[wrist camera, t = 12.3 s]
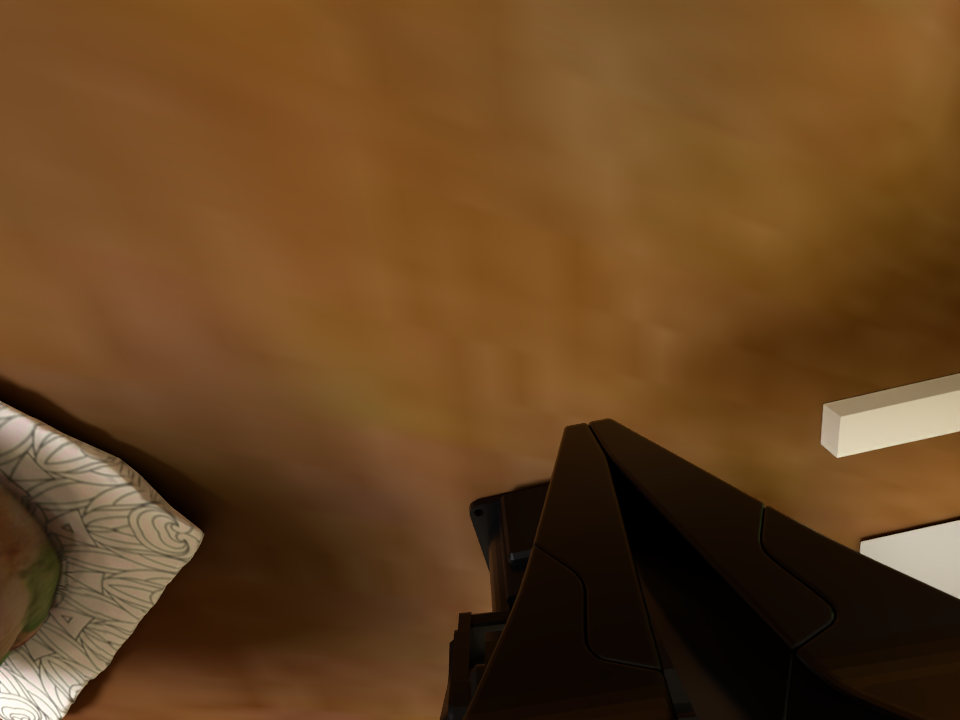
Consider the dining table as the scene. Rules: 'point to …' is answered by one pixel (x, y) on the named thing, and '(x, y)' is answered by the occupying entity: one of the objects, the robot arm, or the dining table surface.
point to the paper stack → (922, 555)
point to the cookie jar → (74, 562)
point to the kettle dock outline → (892, 416)
